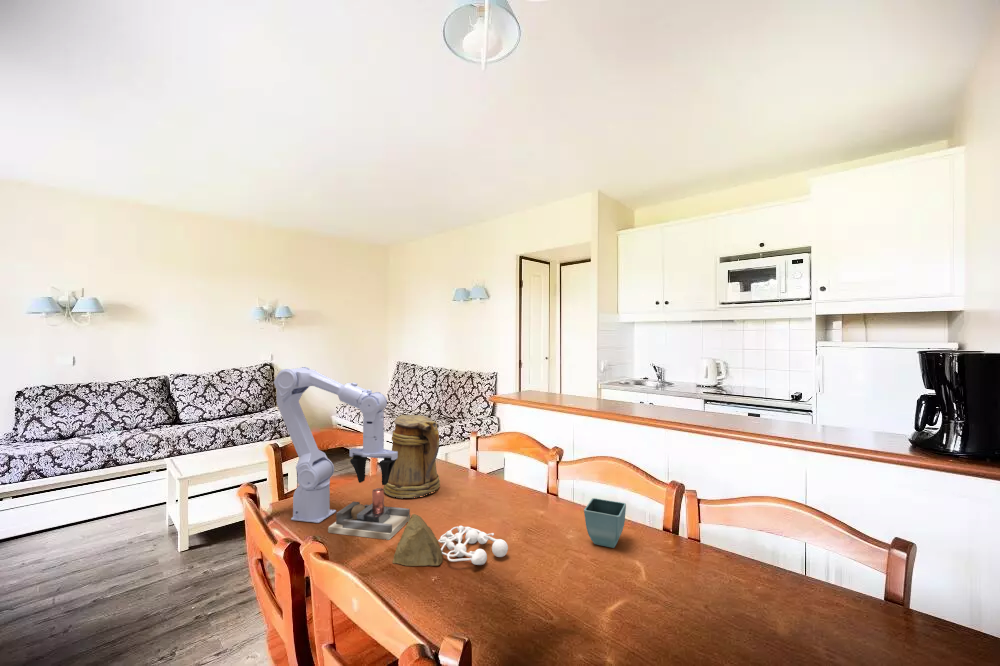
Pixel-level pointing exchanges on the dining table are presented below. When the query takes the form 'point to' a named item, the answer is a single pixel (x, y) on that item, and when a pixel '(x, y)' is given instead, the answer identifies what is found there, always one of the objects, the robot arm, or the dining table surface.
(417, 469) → the tankard
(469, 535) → the white knotted ball cord
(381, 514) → the sliding jaw
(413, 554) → the rock
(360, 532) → the base
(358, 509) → the walnut
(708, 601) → the dining table surface
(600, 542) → the flower pot
